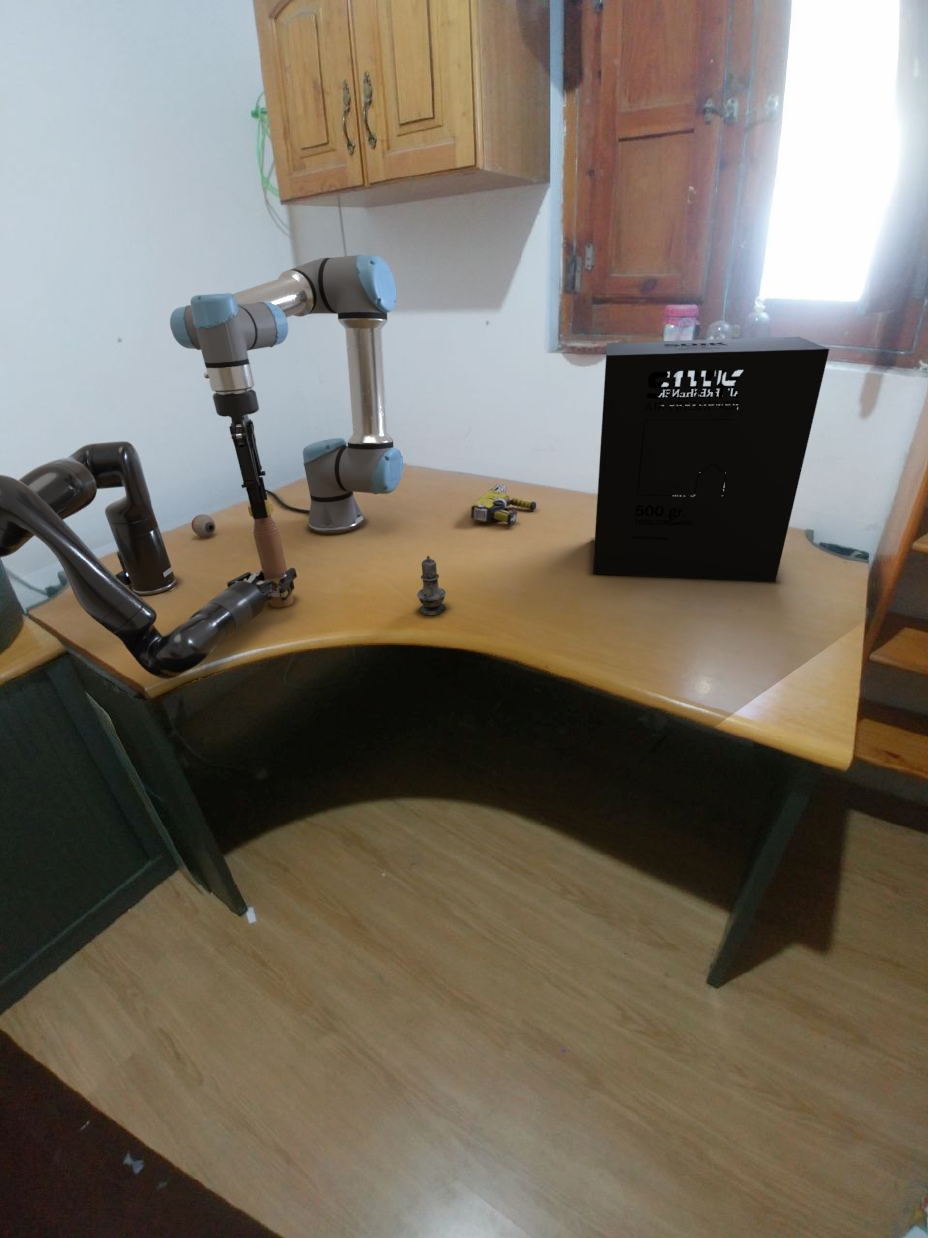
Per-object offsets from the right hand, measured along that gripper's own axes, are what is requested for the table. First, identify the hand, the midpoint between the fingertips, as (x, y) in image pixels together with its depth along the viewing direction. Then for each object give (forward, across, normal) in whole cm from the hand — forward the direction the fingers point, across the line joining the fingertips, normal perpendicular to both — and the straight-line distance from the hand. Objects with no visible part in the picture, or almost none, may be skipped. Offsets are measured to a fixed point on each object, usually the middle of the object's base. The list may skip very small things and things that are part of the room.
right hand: (261, 513), depth 121 cm
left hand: (+14, -2, +1) cm, 14 cm away
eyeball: (+20, -47, -22) cm, 56 cm away
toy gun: (+20, -36, +62) cm, 74 cm away
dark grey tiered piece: (+20, +14, +31) cm, 39 cm away
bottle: (+20, 0, 0) cm, 20 cm away
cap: (-2, 0, 0) cm, 2 cm away
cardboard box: (+20, +8, +89) cm, 92 cm away
